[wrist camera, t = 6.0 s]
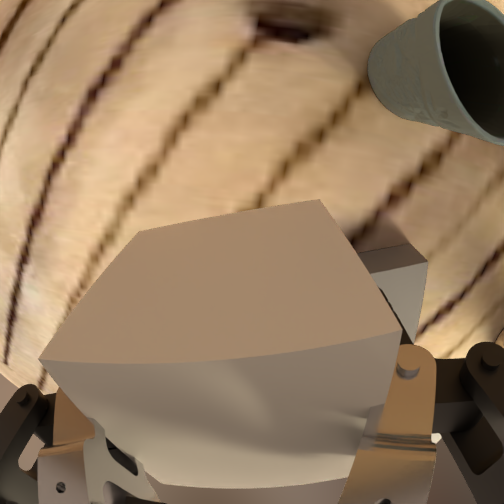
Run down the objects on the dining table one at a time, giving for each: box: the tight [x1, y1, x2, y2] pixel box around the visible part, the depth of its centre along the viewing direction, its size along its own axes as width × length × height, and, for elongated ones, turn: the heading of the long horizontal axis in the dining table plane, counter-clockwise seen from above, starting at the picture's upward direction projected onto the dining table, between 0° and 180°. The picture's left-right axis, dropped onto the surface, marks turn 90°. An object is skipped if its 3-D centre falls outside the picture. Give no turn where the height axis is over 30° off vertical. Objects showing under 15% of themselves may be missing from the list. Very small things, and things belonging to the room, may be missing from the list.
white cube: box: [38, 199, 402, 488], centre depth 8 cm, size 6×6×6 cm
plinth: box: [357, 244, 428, 344], centre depth 30 cm, size 16×16×4 cm
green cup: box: [367, 0, 504, 146], centre depth 14 cm, size 10×10×12 cm
